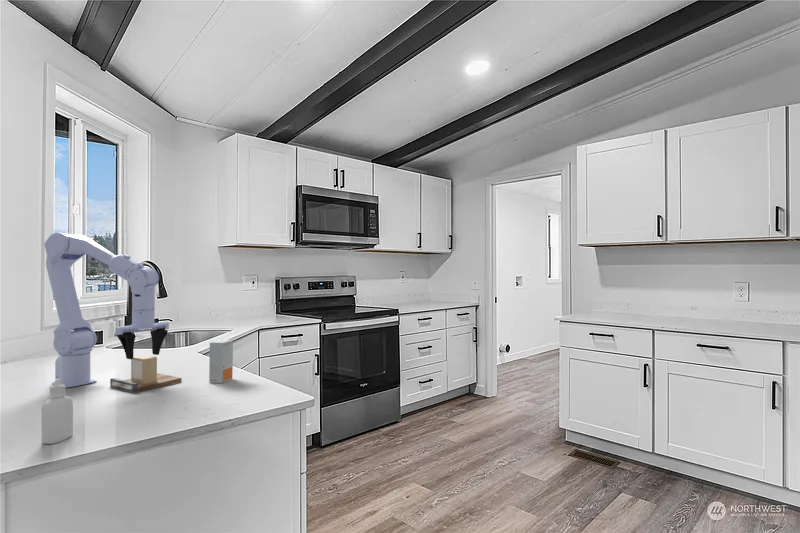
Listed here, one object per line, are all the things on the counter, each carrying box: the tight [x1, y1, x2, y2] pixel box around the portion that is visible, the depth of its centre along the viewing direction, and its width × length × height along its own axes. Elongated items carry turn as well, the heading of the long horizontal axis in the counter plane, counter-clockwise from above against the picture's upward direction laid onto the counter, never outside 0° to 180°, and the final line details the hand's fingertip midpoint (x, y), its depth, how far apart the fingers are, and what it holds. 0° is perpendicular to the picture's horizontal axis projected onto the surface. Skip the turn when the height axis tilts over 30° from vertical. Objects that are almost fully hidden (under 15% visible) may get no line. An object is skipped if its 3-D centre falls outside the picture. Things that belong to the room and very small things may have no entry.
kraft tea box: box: [130, 354, 158, 384], centre depth 134 cm, size 4×6×7 cm, turn 59°
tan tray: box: [109, 372, 182, 394], centre depth 134 cm, size 12×14×2 cm
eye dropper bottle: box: [41, 378, 74, 445], centre depth 92 cm, size 4×6×12 cm
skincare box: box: [208, 339, 234, 384], centre depth 139 cm, size 6×4×12 cm
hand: (143, 356), depth 134 cm, fingers open, 7 cm apart
